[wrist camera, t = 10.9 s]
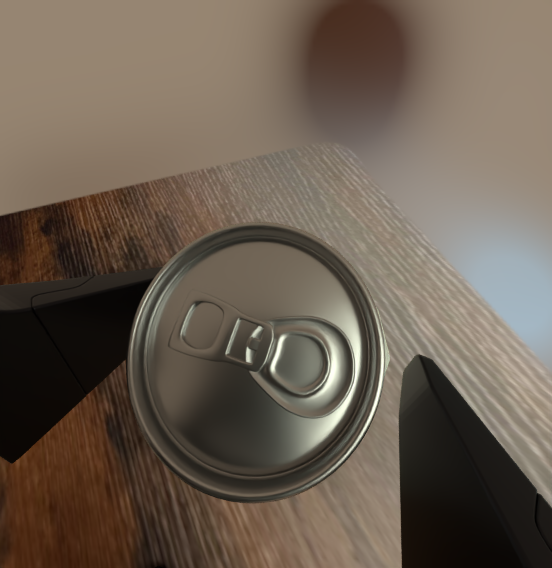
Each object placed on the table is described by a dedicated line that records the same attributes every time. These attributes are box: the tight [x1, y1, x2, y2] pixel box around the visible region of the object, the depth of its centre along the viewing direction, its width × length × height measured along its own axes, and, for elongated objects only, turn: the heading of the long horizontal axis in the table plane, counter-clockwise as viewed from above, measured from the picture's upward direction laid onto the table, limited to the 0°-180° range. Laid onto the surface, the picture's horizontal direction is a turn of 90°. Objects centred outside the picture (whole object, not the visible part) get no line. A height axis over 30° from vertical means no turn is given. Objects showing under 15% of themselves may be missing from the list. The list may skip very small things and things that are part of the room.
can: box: [126, 222, 385, 503], centre depth 10 cm, size 6×6×12 cm
